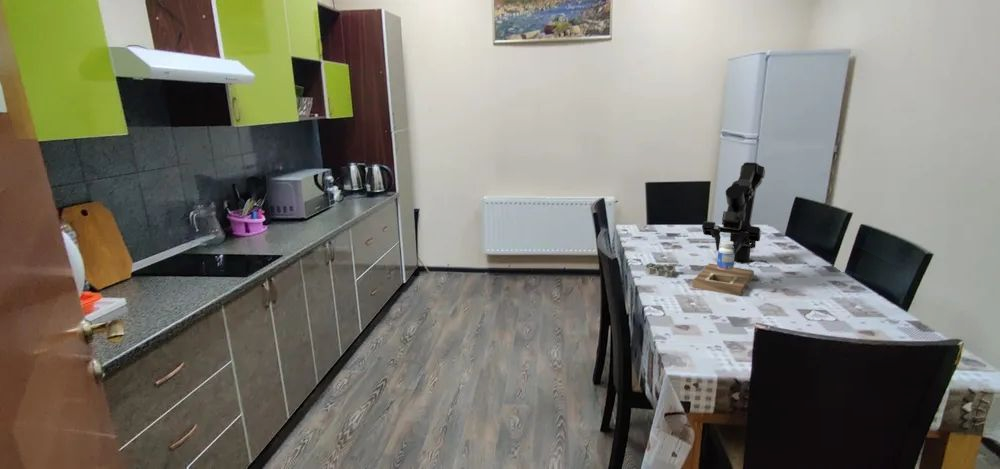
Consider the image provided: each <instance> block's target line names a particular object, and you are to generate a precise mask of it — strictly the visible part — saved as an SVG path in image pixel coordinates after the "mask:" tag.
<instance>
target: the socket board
mask: <svg viewBox="0 0 1000 469" xmlns="http://www.w3.org/2000/svg"><path fill="white" fill-rule="evenodd" d="M754 273H755V270H752V269H747V268H741V267H733V269H732V270H728V271H726V270H721V269H718V268H717V264H716V263H708V264H707V265H706V266H705V267H704V268H703V269H702V270H701V271H700V272H699V273H698V274H697V275H696V277H694V278H693V279H692V284H691V286H692V288H696V289H701V290H706V291H712V292H716V293H721V294H726V295H727V294H728V295H732V296H737V297H742V295H743V294H744V292H745V290H746V289H747V287H748V286H749V284H750V283H751V281H752V280H753V278H754V275H755V274H754Z"/></svg>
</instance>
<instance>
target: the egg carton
mask: <svg viewBox="0 0 1000 469" xmlns="http://www.w3.org/2000/svg"><path fill="white" fill-rule="evenodd" d="M677 266H678V265H677V264H676V263H668V264H667V263H665V264H662V263H653V262H649V263H647V264H645V273H647V275H655V276H658V277H660V276H662V277H664V278H666V279H667V278H672V277H673V276H674V275H676V270H677V269H676V267H677Z"/></svg>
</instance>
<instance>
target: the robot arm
mask: <svg viewBox="0 0 1000 469" xmlns="http://www.w3.org/2000/svg"><path fill="white" fill-rule="evenodd" d="M765 176H766V169H765V167H764V166H762V165H760V164H759V163H757V162H749V161H746V162H744V163H743V164H742V165H741V166H740V172H739V177H738V179H737V180H735V181H733V182H732V184H731V185H730V186H729V187H727V188H726V190H725V197H726V198H725V199H726V203H727V205H728V206H727V210H726V211H725V210H724V211H722V212H723V214H722V217H721V218H722V221H721V225H722V226H720V225H717V224H716V222H715V221H706V220H705V221H703V223H702V226H701V229H702V232H703V233H702V234H703V235H704V236H711V238H712V239H714V240H715V241H714V242H715V247H716V248H715V249H716V251H717V252H718V249H719V248H720V246H721V233H724V234H730V235H729V236H730V237H729V241H732V242H733V243H734V245H733V248H734V253H735V257H734V262H736V263H739V264H745V263H749V262H753V259H752V258H750V257H751V250H752V249H755V248H756V244H757V242H759V241H761V236H762V235H761V227H759V226H752V224H751V223H752V216H753V211H754V210H753V209H754V205H755V198H756V192H757V189H758V187H759V186H761V184H762V182H763V179H765Z"/></svg>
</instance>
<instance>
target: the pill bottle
mask: <svg viewBox="0 0 1000 469" xmlns="http://www.w3.org/2000/svg"><path fill="white" fill-rule="evenodd" d="M733 245H734V243H733V242H732V241H730V240H721V241H720V246H719V249H718V251H717V264H716V265H717V268H718V269H721V270H726V271H728V270H732V269H733V267H734V265H735V261H734V257H735V253H734V248H733ZM734 268H735V267H734Z"/></svg>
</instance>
